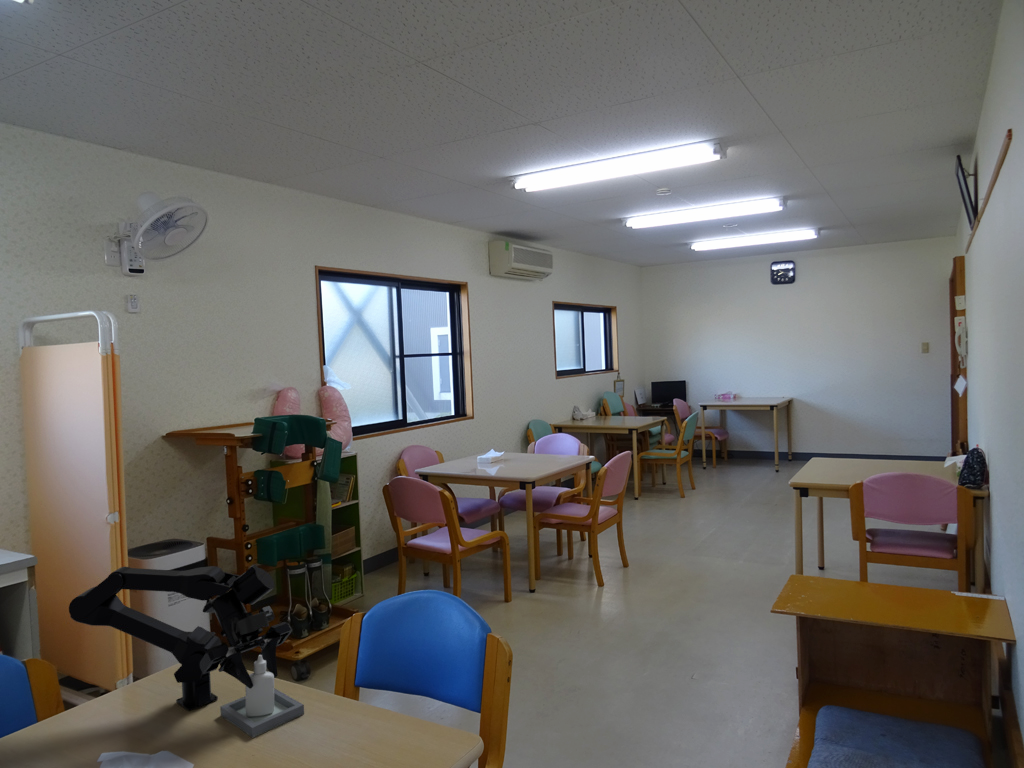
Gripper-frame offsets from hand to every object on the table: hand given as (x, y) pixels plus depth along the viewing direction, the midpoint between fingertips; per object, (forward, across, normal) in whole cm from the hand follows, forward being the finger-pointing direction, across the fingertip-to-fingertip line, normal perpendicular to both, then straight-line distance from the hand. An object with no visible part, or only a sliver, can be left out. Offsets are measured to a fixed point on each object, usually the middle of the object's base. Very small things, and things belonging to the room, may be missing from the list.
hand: (264, 682), depth 143 cm
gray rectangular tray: (+4, 0, +6) cm, 7 cm away
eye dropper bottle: (+4, 0, +6) cm, 7 cm away
